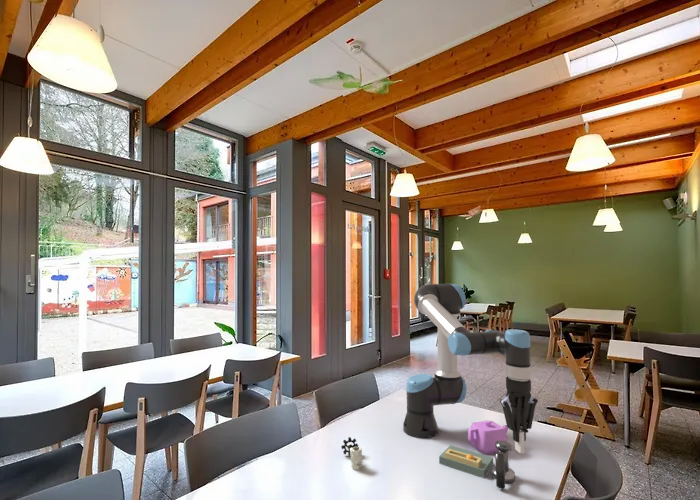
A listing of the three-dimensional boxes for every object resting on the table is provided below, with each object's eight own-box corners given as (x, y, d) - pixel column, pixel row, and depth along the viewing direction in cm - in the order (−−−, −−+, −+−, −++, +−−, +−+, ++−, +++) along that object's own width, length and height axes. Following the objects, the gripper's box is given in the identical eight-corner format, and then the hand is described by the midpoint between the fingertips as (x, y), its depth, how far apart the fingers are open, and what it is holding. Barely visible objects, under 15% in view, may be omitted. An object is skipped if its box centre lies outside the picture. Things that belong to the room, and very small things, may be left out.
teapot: (500, 439, 149) (499, 414, 150) (517, 451, 139) (516, 424, 140) (461, 444, 145) (461, 418, 146) (477, 457, 135) (476, 429, 136)
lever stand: (439, 463, 130) (439, 448, 130) (450, 451, 139) (450, 438, 139) (484, 478, 120) (483, 462, 121) (493, 464, 129) (492, 449, 130)
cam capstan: (494, 468, 126) (493, 437, 126) (515, 474, 122) (514, 441, 123) (488, 487, 115) (487, 452, 115) (512, 493, 111) (511, 458, 112)
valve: (367, 469, 126) (357, 453, 138) (367, 450, 127) (357, 435, 138) (349, 472, 125) (341, 455, 136) (349, 452, 125) (341, 437, 137)
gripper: (527, 373, 123) (528, 443, 122) (493, 375, 120) (495, 447, 119) (543, 379, 115) (545, 454, 114) (508, 382, 113) (509, 459, 111)
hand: (519, 451), depth 117 cm, fingers closed
